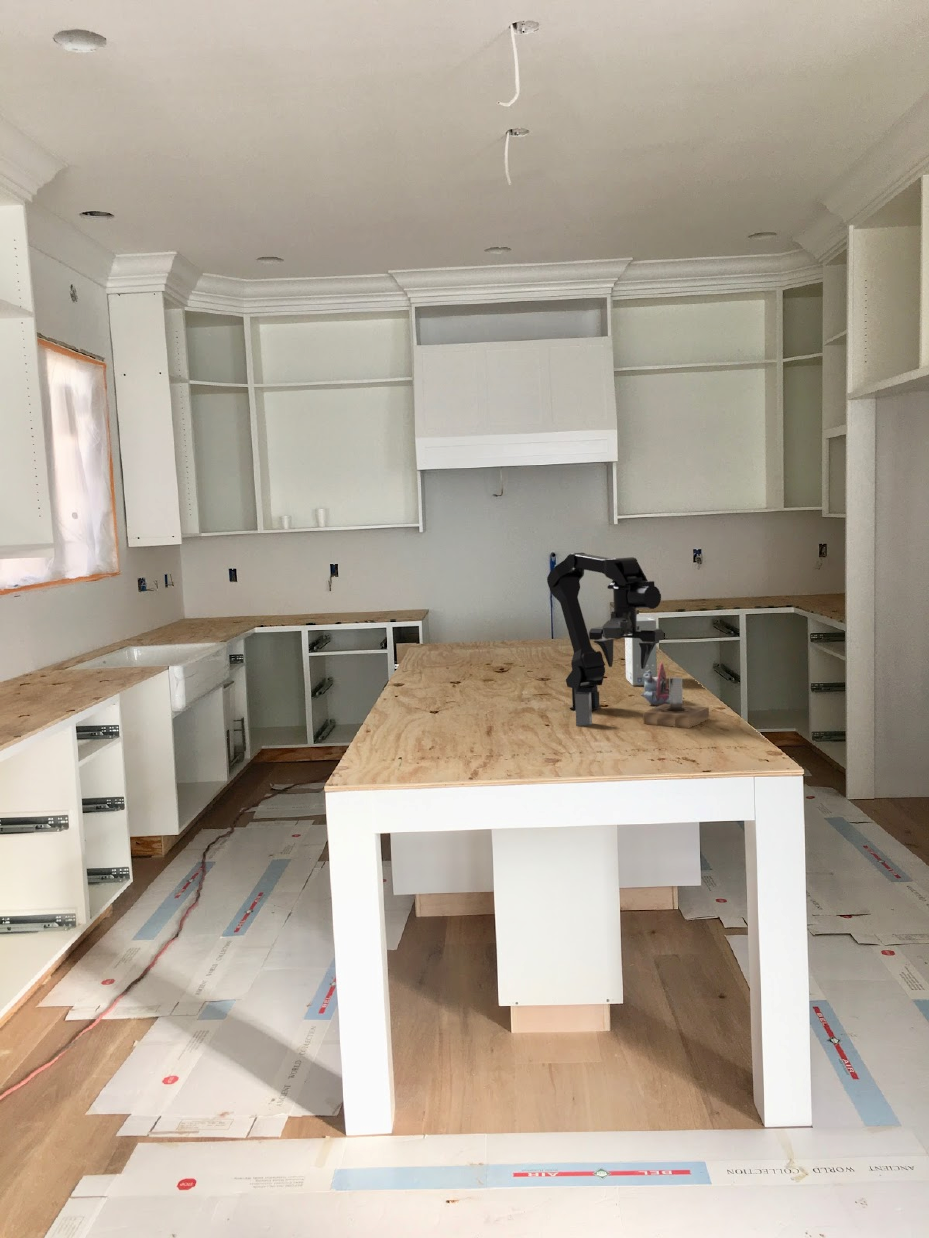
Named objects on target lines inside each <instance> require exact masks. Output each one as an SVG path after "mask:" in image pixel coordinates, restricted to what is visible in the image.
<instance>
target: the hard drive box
mask: <svg viewBox="0 0 929 1238" xmlns="http://www.w3.org/2000/svg"><path fill="white" fill-rule="evenodd" d="M637 626H639V630H637V631H641V630H644V629H648V628H654V629H657V620H656V619H654V618H652V617H650V616H637ZM628 635H629V634H628ZM630 635H631V634H630ZM641 642H642V640H641V639H640V638H624V648H625V649H624V652H625V656H624V657H625V680H627V681H628V682H629V683H630V684H631V686H633V687H635V686H644V682H645V678H644V677H643V675H644V673H645V672H644V671H649V670H650V671H651V673H652V674H651V676H652V677H658V670H657V669H658V666H657V643H656V644H655V646H654V648H653V650H652V651H651V654H650V656H649V658H648V661H647V663H646V666H645V668H644V669H641V647H640V645H639V643H641Z"/></svg>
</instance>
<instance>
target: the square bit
mask: <svg viewBox="0 0 929 1238" xmlns="http://www.w3.org/2000/svg"><path fill="white" fill-rule="evenodd" d="M575 704H576V710H575V726H576V727H591V725H592V724H593V717H592V715H593V710H592V707H591V692H577V693H576V694H575ZM591 723H592V724H591Z"/></svg>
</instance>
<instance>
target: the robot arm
mask: <svg viewBox="0 0 929 1238" xmlns="http://www.w3.org/2000/svg"><path fill="white" fill-rule="evenodd" d="M585 571H589V572H590V571H591V572H595V573H601V574H603V575H604V577H605V578H608V579H610V580H612V581H611V583H609V584H608V585H607V590H612V591H613V592H612V593H613V594H612V595H613V596H612V597H613V599H612V600H613V611H611V613H610V619H609V620H607V621H606V622H605V623H604V624H603V625H602V626H597V627H592V628H590V629H589V632H588V630H587V626H586V623H585V622H586V621H585V619H584V616H583V612H582V609H581V604H580V601H579V593H580V590H581V584H580V583H581V579H582V578H584V575H585ZM546 583H547V586H548V588H549V591H550V593H551V595H552V596H553V597H554V598H555V599H556V600H557V601H558V602H559V604H560V607H561V611H562V614H563V618H564V621H565V625H566V628H567V633H568V636H569V640H570V642H571V647H572V650H573V656H572V659H571V663H570V664H571V665H570V666H571V671H570V673H569V674H568V675H567V677H566V678H565V683H566V687H567V688H570V689H571V698H572V704H571V705H572V706H569V710H573V711H576V704H575V694H576V693H577V692H591V707H592V711H594V710H597V709H599V708H602V705H600V692H599V690H598V689H599V687H598V686H602V685H603V682H604V677H605V674H606V663H605V661H604V659H603V655H604V657H605V660H606V662H607V665H608V667H609V668H613V662H614V640H620V639H623V638H624V639H625V638H640V639H641V640H642V642H641V643H639V645H640V647H641V669H644V668H645V666H646V663H647V661H648V658H649V656H650V654H651V651H652V650H653V648H654V646H655V644H656V645H657V644H660V641H664V639H665V633H664V630H663V629H662V628H656V629H654V628H648V629H644V630H641V631H637V630H639V626H637V617H638V616H637V615H639V614H640V611H639V609H649V610H654V609H656V608H657V607H658V606H660V603H661V601H662V593H661V591H660V590H659V588H658V587H657V586H656V585H655V581H654V580H648V579H647V576H646V575H645V573H644V571H643V569H642V568H641V566H640V564H639V562H638V559H637V558H636V557H634V556H628V557H618V558H617V557H616V558H615V557H614V558H611V557H604V556H600V555H593V554H587V553H585V552H573V553H572V552H571V553H570V554H568V555H567V556H566V558H565V559H563V560H562V561H560V562H559V563H558V564H556V565H555V566H554V567H553V568H552V569H551V571H549V573H548V575H547V577H546ZM628 634H629V635H628ZM630 634H631V635H630ZM591 640H593V643H594V644H597V645H598V646H599V648H601V650H602V651H600V650H599V651H596V650H595V648H593V647H592V644H591Z"/></svg>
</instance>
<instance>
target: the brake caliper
mask: <svg viewBox="0 0 929 1238" xmlns="http://www.w3.org/2000/svg"><path fill="white" fill-rule="evenodd" d="M644 672H645V673H644V675H643V677H644V678H645V682H644V685H643V689H644V690H643V691H644V692H642V693H641V694H640V696H641V697H643V699H646V701H647V702H648V703H649V704H650V705H651V706H660V705H663V704H670V699H669V688H667V687H668V679H667V676H666V671H665V668H664V663H662V662H660V664H659V669H658V673H657V677H652V676H651V674H652V673H651V671H650V670H649V671H644Z"/></svg>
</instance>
